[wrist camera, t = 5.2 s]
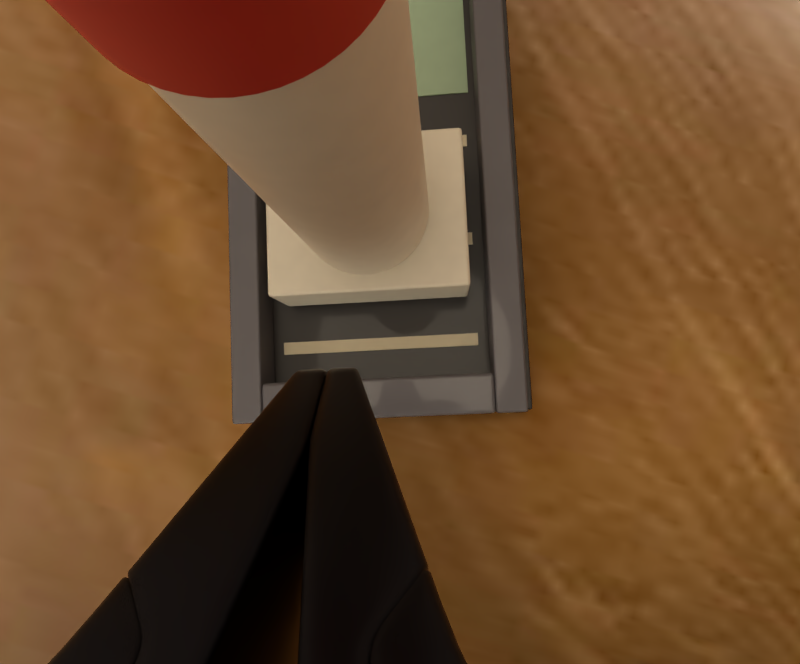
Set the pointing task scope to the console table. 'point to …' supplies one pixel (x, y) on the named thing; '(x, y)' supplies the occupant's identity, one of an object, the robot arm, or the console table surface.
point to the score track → (419, 318)
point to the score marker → (309, 134)
